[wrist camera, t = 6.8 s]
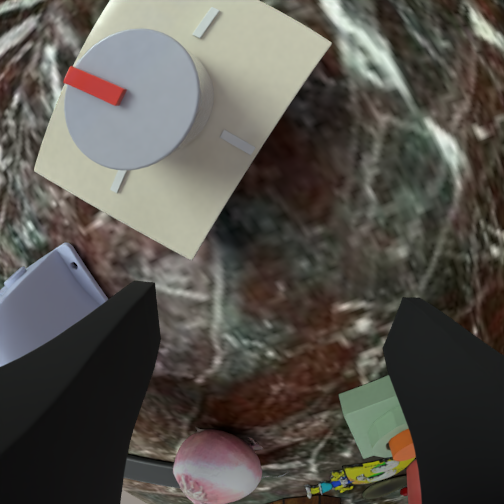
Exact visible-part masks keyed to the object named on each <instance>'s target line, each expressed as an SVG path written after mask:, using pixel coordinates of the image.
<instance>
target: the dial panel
mask: <svg viewBox="0 0 504 504" xmlns="http://www.w3.org/2000/svg"><path fill="white" fill-rule="evenodd" d="M136 28H142V29H151V30H156V31H159V32H162V33H164V34H166V35H168V36H170V37H172V38H173V39H175V40H176V41H178V42H179V43H180V44H181V45H182V46H184V47H185V48H186V49H187V50H188V51H190V52H191V53H192V54H193V55H194V56H195V57H197V58H198V59H199V60H200V61H201V62H202V63H203V65H204V66H205V67H206V69H207V71H208V73H209V74H210V77H211V80H212V83H213V88H214V103H213V108H212V112H211V115H210V118H209V120H208V122H207V124H206V125H205V127H204V128H203V130H202V131H201V132H200V133H199V135H198V136H197V137H196V138H194V139H193V140H192V141H191V142H189V143H188V144H187V145H185V146H183V147H182V148H180V149H179V150H177V151H175V152H174V153H172V154H171V155H169V156H167V157H166V158H164V159H163V160H161V161H159V162H157V163H156V164H153V165H151V166H148V167H145V168H141V169H137V170H114V169H110V168H107V167H104V166H101V165H99V164H97V163H95V162H94V161H92V160H91V159H89V158H88V157H87V156H86V155H84V154H83V153H82V152H81V150H80V149H79V148H78V147H77V146H76V144H75V143H74V141H73V139H72V137H71V135H70V133H69V130H68V128H67V124H66V120H65V112H64V99H65V92H66V88H67V84H65V85H64V87H63V89H62V92H61V94H60V96H59V99H58V101H57V104H56V106H55V109H54V111H53V114H52V117H51V119H50V122H49V125H48V128H47V130H46V133H45V136H44V139H43V142H42V145H41V148H40V152H39V155H38V158H37V161H36V165H35V168H34V171H35V172H36V173H38V174H40V175H41V176H43V177H45V178H46V179H48V180H50V181H51V182H53V183H55V184H56V185H58V186H60V187H61V188H63V189H65V190H67V191H68V192H70V193H72V194H73V195H75V196H77V197H79V198H80V199H82V200H84V201H85V202H87V203H89V204H91V205H92V206H94V207H96V208H98V209H99V210H101V211H103V212H105V213H106V214H108V215H110V216H112V217H113V218H115V219H117V220H119V221H120V222H122V223H124V224H126V225H128V226H129V227H131V228H133V229H135V230H137V231H138V232H140V233H142V234H144V235H146V236H147V237H149V238H151V239H153V240H155V241H156V242H158V243H160V244H162V245H164V246H166V247H167V248H169V249H171V250H173V251H175V252H177V253H179V254H180V255H182V256H184V257H186V258H188V259H190V260H193V258H194V257H195V255H196V253H197V252H198V250H199V248H200V246H201V245H202V243H203V241H204V240H205V238H206V236H207V235H208V233H209V231H210V230H211V228H212V226H213V225H214V223H215V221H216V220H217V218H218V216H219V215H220V213H221V211H222V210H223V208H224V206H225V205H226V203H227V202H228V200H229V198H230V197H231V195H232V193H233V192H234V190H235V189H236V187H237V185H238V184H239V182H240V181H241V179H242V177H243V176H244V174H245V173H246V171H247V169H248V168H249V166H250V165H251V163H252V162H253V160H254V158H255V157H256V155H257V154H258V152H259V151H260V149H261V148H262V146H263V144H264V143H265V141H266V140H267V138H268V137H269V135H270V134H271V132H272V131H273V129H274V128H275V126H276V125H277V123H278V121H279V120H280V118H281V117H282V115H283V114H284V112H285V111H286V109H287V108H288V106H289V105H290V103H291V102H292V101H293V99H294V98H295V96H296V95H297V93H298V92H299V90H300V89H301V87H302V86H303V84H304V83H305V81H306V80H307V79H308V77H309V76H310V74H311V73H312V71H313V70H314V69H315V67H316V66H317V64H318V63H319V61H320V60H321V59H322V57H323V56H324V54H325V53H326V52H327V50H328V49H329V47H330V46H331V45H332V43H331V42H330V41H328V40H327V39H325V38H324V37H322V36H321V35H319V34H318V33H316V32H314V31H313V30H311V29H310V28H308V27H306V26H305V25H303V24H301V23H300V22H298V21H296V20H295V19H293V18H291V17H289V16H288V15H286V14H284V13H282V12H280V11H278V10H277V9H275V8H273V7H271V6H269V5H267V4H265V3H263V2H261V1H259V0H110V1H109V3H108V4H107V6H106V8H105V9H104V11H103V12H102V14H101V16H100V17H99V19H98V21H97V22H96V24H95V26H94V28H93V29H92V31H91V33H90V35H89V36H88V38H87V40H86V42H85V44H84V46H83V47H82V49H81V51H80V53H79V55H78V57H77V59H76V61H75V63H74V65H73V66H74V67H75V66H76V65H77V63H78V62H79V60H80V59H81V58H82V57H83V55H84V54H85V53H86V52H87V51H88V50H89V49H90V48H91V47H92V46H93V45H95V44H96V43H98V42H99V41H100V40H102V39H104V38H106V37H107V36H109V35H112V34H114V33H117V32H119V31H123V30H127V29H136Z"/></svg>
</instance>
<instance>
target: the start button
mask: <svg viewBox="0 0 504 504" xmlns="http://www.w3.org/2000/svg"><path fill="white" fill-rule="evenodd" d="M388 443H389V447H390V450H391V453H392V457H393V460H395V461H405V460H409V459H412V458H414V457H416V455H415V450H414V445H413V441H412V438H411V434H410V431H409V429H406V430H404V431H402V432H400V433H399V434H397V435H396V436H394V437H393V438H391V439H390V441H389V442H388Z"/></svg>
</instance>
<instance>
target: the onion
mask: <svg viewBox="0 0 504 504" xmlns="http://www.w3.org/2000/svg"><path fill="white" fill-rule="evenodd" d="M195 428H196V427H195ZM196 429H197V433H195V434H192V435H191V436H189V437H188V438H187V439H186V440H185V441H184V442H183V443H182V445H181V447H180V449H179V450H178V453H177V455H176V458H175V462H174V466H173V474H174V476H175V478H176V480H177V482H178V483H179V485H180V488H181V490H182V491H183V492H184V494H185V495H186V496H187V497H188V499H190V500H191V501H192V502H193V503H194V504H226V503H230V502H233V501H237V500H239V499H241V498H243V497H245V496H247V495H248V494H250V493H251V492H252V491H253V490H254V489H255V488H256V487H257V485H258V484H259V482H260V480H261V477H262V470H261V464H260V460H259V458H258V456H257V454H256V453H255V451H254V450H262V449H263V448H262V447H261V446H260V445H259V444H258V443H257V442H256V441H255V440H253V439H252V438H250V437H248V439H249V440H251V441H252V442H254V443H251V442H250V444H248V443H246V442H245V441H244V440H242V439H241V438H239V437H237V436H235V435H233V434H230V433H228V432H224V431H219V430H215V429H208V430H206V429H199V428H196Z"/></svg>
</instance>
